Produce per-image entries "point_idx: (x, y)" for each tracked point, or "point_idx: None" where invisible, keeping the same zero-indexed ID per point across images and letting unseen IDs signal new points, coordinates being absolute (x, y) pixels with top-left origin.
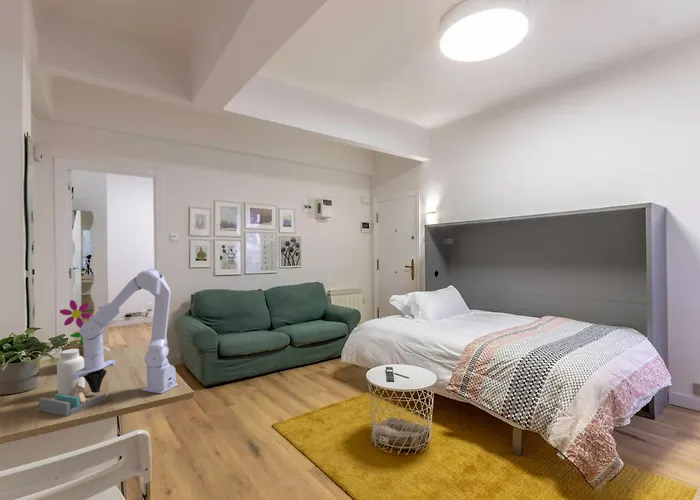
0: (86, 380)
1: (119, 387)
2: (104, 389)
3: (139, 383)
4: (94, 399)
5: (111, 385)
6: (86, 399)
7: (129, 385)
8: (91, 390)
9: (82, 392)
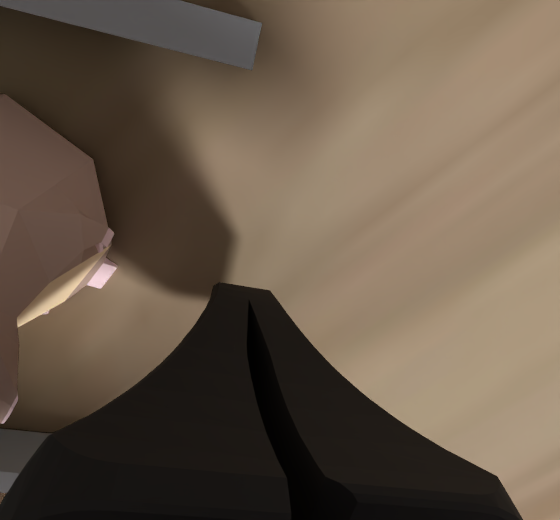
0: (131, 393)
1: (454, 398)
2: (412, 275)
3: (532, 502)
4: (5, 489)
5: (539, 269)
6: (96, 281)
7: (496, 453)
8: (209, 300)
9: (19, 317)
